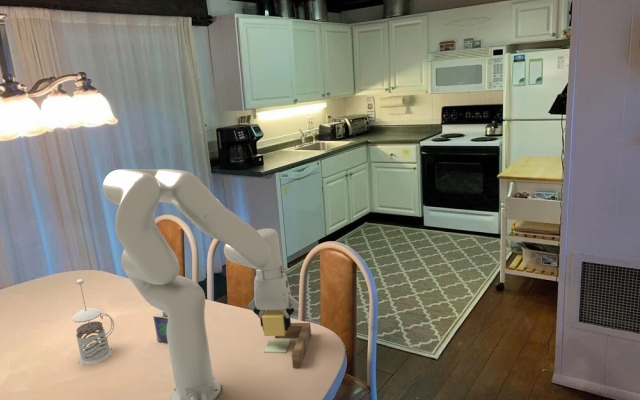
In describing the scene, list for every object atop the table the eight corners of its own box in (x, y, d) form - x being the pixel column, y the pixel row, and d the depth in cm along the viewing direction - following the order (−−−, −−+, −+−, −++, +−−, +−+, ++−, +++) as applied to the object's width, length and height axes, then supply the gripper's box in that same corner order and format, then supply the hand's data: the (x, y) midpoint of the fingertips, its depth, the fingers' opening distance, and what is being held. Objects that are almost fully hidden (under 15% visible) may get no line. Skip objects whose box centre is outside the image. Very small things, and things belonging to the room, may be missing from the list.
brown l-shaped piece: (300, 368, 133) (298, 354, 132) (256, 367, 135) (255, 354, 134) (311, 334, 150) (310, 322, 150) (272, 334, 152) (271, 322, 152)
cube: (288, 325, 147) (286, 307, 145) (284, 335, 141) (282, 317, 140) (269, 325, 148) (267, 307, 146) (264, 336, 142) (261, 317, 141)
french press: (73, 356, 149) (57, 280, 143) (112, 341, 156) (98, 268, 151) (82, 369, 142) (65, 289, 136) (123, 353, 149) (108, 276, 143)
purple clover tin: (155, 341, 154) (150, 310, 152) (162, 337, 157) (157, 306, 154) (178, 346, 150) (173, 314, 148) (184, 341, 153) (180, 310, 150)
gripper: (301, 265, 142) (307, 321, 146) (244, 267, 145) (252, 322, 149) (296, 276, 135) (302, 334, 139) (236, 277, 138) (244, 335, 142)
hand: (276, 327), depth 144 cm, fingers closed on cube, 6 cm apart
